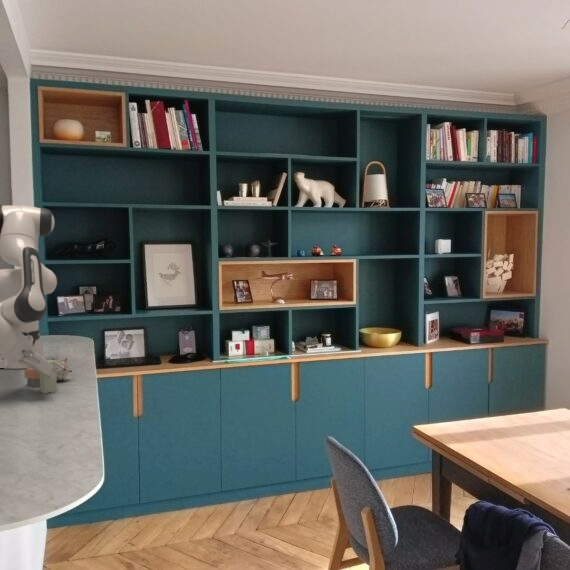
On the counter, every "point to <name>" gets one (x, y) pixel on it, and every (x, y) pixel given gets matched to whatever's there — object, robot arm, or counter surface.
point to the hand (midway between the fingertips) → (50, 374)
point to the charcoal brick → (33, 382)
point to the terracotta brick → (31, 373)
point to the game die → (61, 369)
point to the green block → (48, 380)
